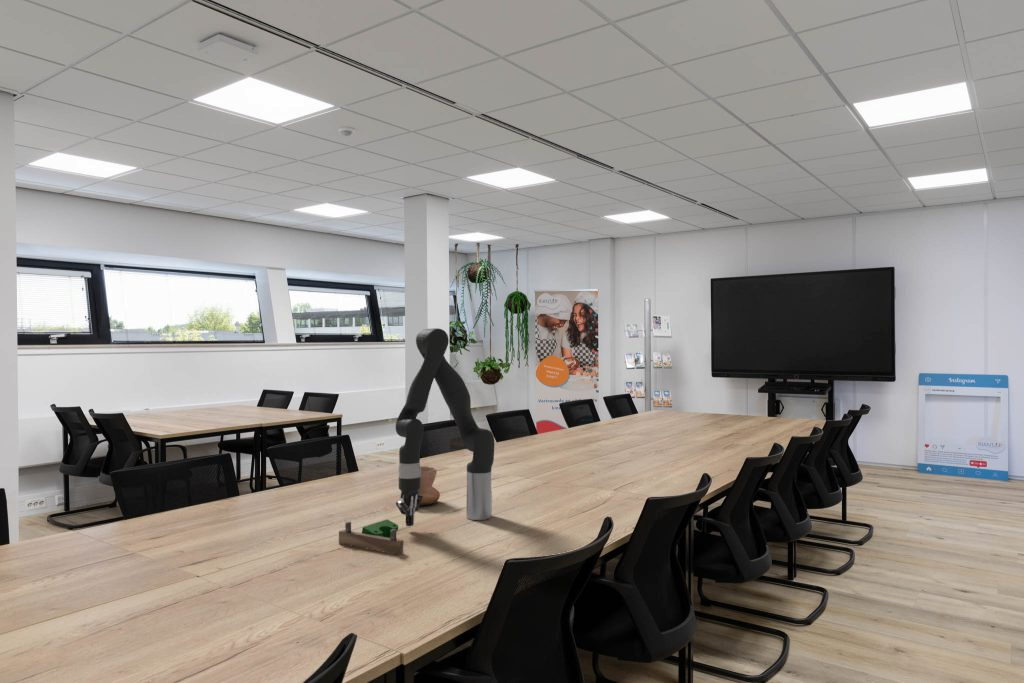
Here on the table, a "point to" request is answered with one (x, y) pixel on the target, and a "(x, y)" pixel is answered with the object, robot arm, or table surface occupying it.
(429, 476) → the ceramic jug
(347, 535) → the bar
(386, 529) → the clamp
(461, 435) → the robot arm
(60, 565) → the table surface
